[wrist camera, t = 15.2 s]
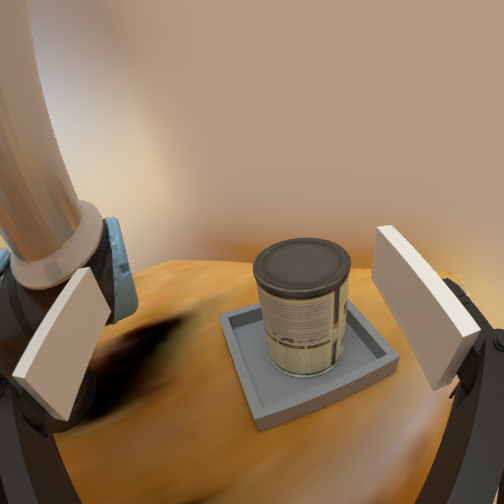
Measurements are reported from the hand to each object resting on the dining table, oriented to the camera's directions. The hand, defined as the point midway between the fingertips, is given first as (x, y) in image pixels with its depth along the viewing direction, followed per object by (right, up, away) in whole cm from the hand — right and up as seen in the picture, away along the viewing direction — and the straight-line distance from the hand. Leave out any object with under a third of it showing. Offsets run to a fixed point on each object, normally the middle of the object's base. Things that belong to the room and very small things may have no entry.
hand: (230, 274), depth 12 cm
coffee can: (+8, -12, +24) cm, 29 cm away
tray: (+8, -13, +25) cm, 29 cm away
